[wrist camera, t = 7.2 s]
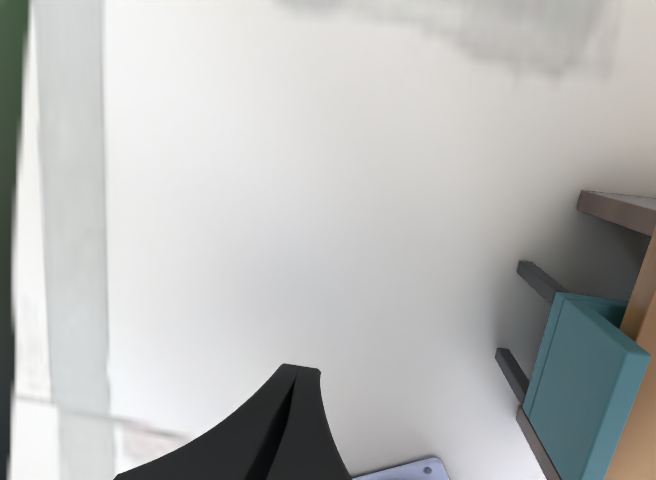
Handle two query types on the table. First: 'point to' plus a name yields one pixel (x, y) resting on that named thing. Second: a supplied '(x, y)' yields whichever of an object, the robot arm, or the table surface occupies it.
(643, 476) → the desk
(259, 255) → the table surface
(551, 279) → the chair
